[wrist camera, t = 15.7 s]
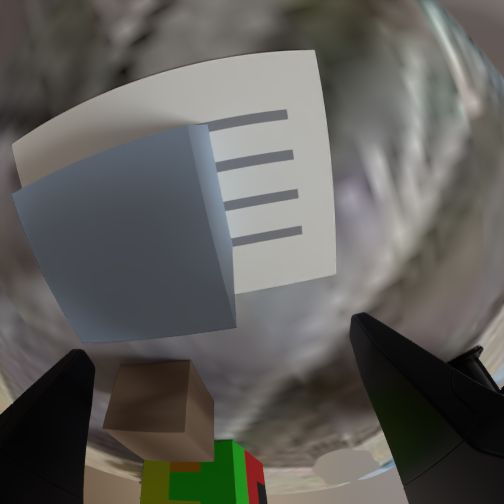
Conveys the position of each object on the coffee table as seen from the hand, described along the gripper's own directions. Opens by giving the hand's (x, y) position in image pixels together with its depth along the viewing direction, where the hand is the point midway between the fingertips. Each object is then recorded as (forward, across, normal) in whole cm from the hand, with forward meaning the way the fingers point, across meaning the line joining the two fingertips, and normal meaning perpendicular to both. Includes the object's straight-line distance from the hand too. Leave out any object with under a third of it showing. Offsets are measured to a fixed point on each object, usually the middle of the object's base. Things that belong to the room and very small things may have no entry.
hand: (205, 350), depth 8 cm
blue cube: (+5, +1, -4) cm, 6 cm away
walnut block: (+5, +5, +8) cm, 11 cm away
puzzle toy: (+5, +7, +24) cm, 26 cm away
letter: (+5, +2, -4) cm, 6 cm away
